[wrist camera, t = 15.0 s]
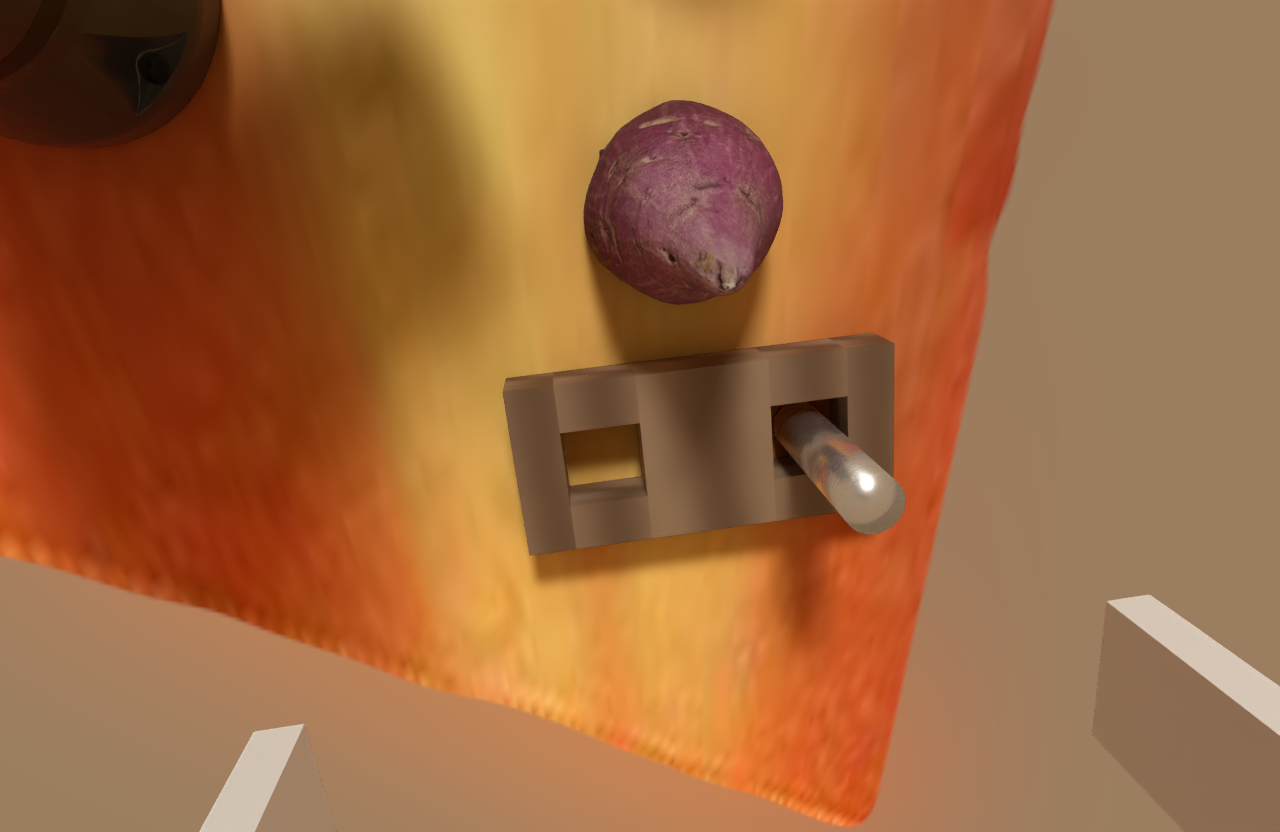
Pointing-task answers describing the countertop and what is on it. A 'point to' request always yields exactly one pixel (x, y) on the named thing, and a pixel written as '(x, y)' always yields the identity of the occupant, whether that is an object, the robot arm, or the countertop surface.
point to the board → (692, 438)
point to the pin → (840, 469)
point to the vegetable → (683, 203)
